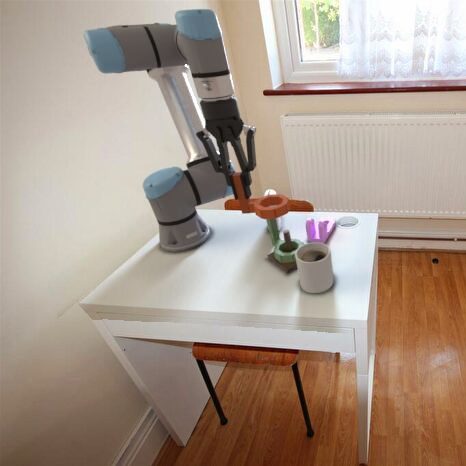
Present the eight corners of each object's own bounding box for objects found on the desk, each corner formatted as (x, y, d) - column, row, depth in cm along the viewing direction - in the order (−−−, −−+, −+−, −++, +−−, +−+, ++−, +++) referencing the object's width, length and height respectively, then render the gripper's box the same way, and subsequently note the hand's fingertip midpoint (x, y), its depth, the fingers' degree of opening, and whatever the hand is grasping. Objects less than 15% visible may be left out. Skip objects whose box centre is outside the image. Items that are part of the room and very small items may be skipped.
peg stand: (267, 259, 97) (261, 232, 91) (294, 244, 102) (290, 218, 97) (287, 273, 90) (281, 245, 85) (315, 257, 96) (311, 230, 91)
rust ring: (292, 202, 87) (285, 165, 81) (286, 218, 80) (278, 178, 74) (248, 204, 88) (238, 167, 82) (238, 220, 81) (227, 181, 75)
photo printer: (281, 232, 109) (274, 199, 102) (268, 233, 109) (260, 200, 102) (282, 217, 118) (276, 185, 111) (270, 218, 117) (263, 187, 110)
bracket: (324, 243, 102) (321, 224, 98) (307, 241, 104) (304, 222, 100) (337, 222, 112) (335, 204, 109) (322, 220, 114) (320, 202, 110)
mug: (320, 298, 82) (315, 267, 76) (291, 285, 86) (285, 255, 81) (344, 273, 89) (341, 243, 84) (316, 263, 94) (312, 234, 88)
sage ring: (310, 253, 95) (305, 222, 90) (286, 266, 91) (280, 235, 85) (286, 238, 103) (280, 209, 97) (263, 250, 98) (256, 220, 92)
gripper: (174, 103, 66) (208, 205, 79) (247, 99, 65) (269, 202, 78) (190, 96, 72) (219, 191, 85) (256, 92, 72) (276, 189, 85)
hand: (243, 196), depth 82 cm, fingers closed on rust ring, 2 cm apart
